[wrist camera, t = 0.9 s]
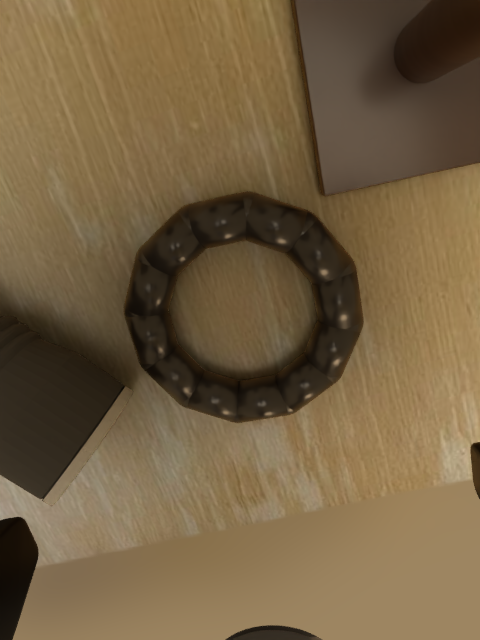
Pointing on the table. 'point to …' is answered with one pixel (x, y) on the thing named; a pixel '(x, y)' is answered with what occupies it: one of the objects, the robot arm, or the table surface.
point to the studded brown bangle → (270, 231)
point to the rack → (389, 87)
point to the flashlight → (50, 411)
